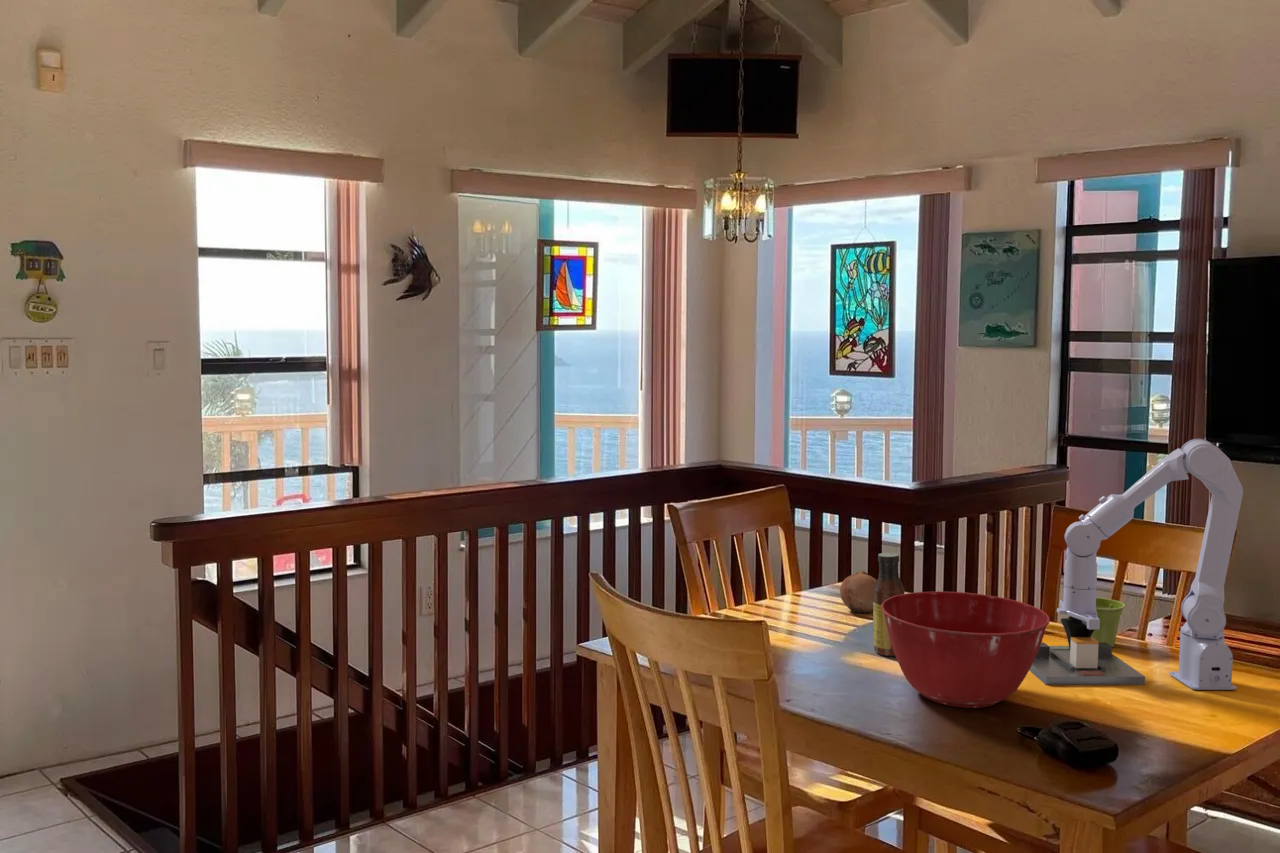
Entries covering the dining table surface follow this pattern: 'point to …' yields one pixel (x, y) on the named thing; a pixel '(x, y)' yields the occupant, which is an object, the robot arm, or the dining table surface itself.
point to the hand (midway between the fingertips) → (1077, 657)
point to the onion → (858, 592)
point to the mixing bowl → (963, 644)
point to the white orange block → (1084, 652)
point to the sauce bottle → (883, 590)
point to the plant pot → (1108, 620)
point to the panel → (1059, 671)
